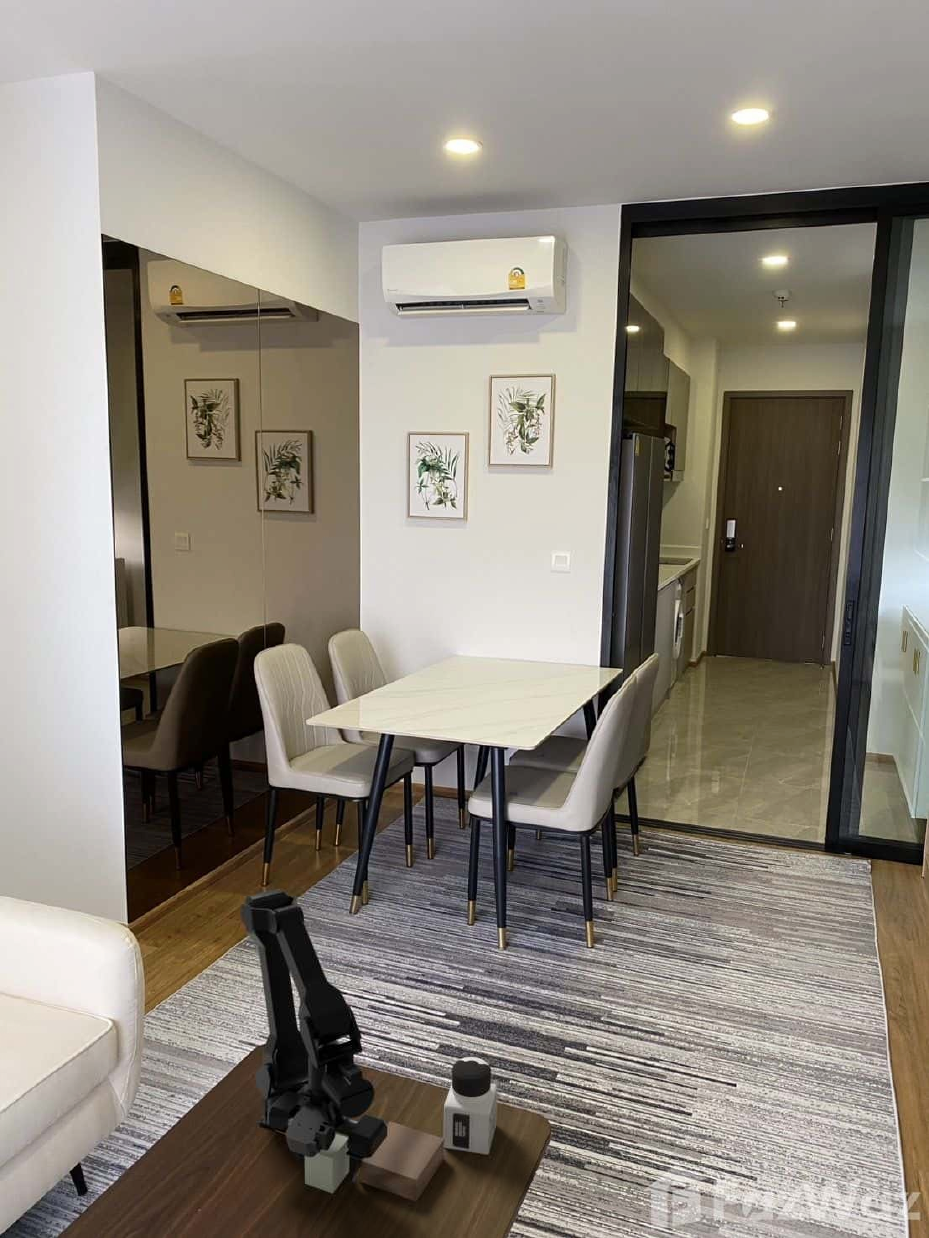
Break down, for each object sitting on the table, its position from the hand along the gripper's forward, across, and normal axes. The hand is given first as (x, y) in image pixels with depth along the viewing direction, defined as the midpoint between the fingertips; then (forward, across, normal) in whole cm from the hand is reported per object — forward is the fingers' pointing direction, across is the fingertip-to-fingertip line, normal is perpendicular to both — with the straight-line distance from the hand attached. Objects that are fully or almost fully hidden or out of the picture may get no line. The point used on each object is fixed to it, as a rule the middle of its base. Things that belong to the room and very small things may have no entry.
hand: (327, 1171), depth 146 cm
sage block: (+1, 0, 0) cm, 1 cm away
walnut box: (+1, +10, +6) cm, 12 cm away
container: (+1, +17, +18) cm, 25 cm away
